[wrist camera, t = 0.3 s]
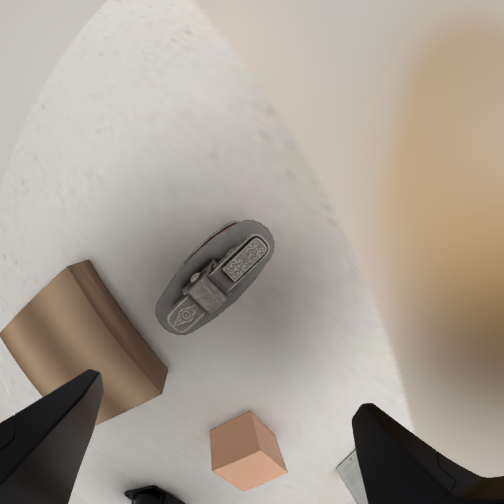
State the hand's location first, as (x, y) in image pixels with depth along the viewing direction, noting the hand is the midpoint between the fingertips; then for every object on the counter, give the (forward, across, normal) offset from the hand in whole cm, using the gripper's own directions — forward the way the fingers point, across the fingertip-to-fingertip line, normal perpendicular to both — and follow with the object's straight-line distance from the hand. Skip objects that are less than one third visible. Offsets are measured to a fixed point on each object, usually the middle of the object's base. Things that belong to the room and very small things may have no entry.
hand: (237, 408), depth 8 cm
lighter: (+15, +2, +1) cm, 15 cm away
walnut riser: (+13, +12, +11) cm, 21 cm away
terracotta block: (+12, -4, +18) cm, 22 cm away
